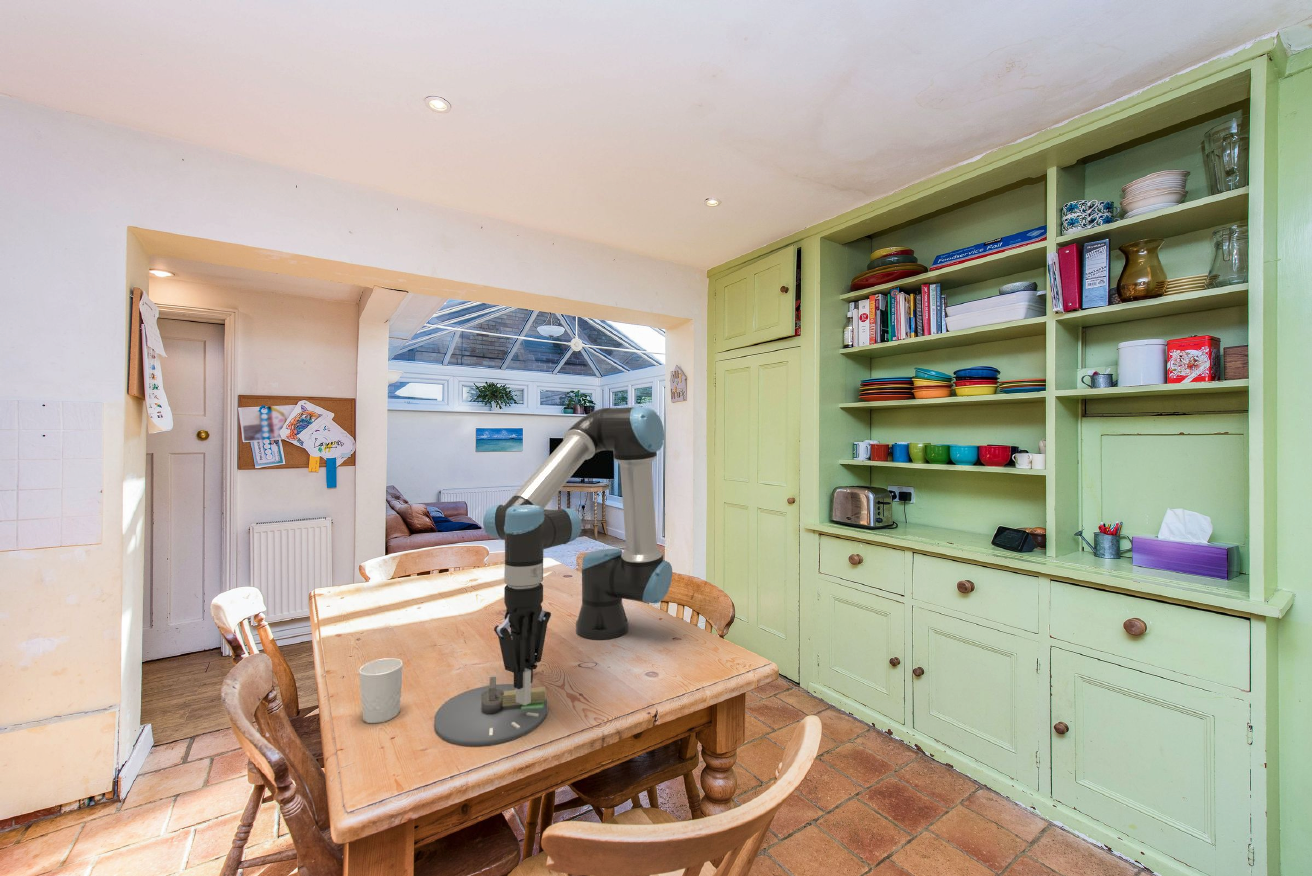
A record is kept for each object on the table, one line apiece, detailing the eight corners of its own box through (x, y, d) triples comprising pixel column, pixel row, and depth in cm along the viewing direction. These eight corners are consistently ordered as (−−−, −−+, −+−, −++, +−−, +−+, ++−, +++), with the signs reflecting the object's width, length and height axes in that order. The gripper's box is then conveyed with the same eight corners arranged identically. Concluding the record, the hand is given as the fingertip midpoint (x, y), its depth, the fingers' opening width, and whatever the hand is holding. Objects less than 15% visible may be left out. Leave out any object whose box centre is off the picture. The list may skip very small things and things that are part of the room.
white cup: (369, 705, 114) (369, 658, 114) (408, 704, 115) (408, 657, 114) (352, 726, 106) (351, 675, 106) (393, 724, 107) (393, 674, 107)
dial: (416, 714, 110) (416, 707, 110) (512, 680, 126) (512, 673, 126) (465, 761, 95) (465, 753, 95) (568, 715, 110) (568, 708, 110)
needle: (480, 715, 107) (480, 689, 107) (482, 703, 112) (482, 678, 112) (545, 707, 110) (545, 682, 110) (544, 696, 115) (544, 671, 115)
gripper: (510, 594, 100) (509, 721, 100) (560, 579, 111) (560, 694, 111) (484, 588, 105) (483, 710, 105) (535, 574, 115) (534, 684, 115)
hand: (523, 702), depth 108 cm, fingers closed
